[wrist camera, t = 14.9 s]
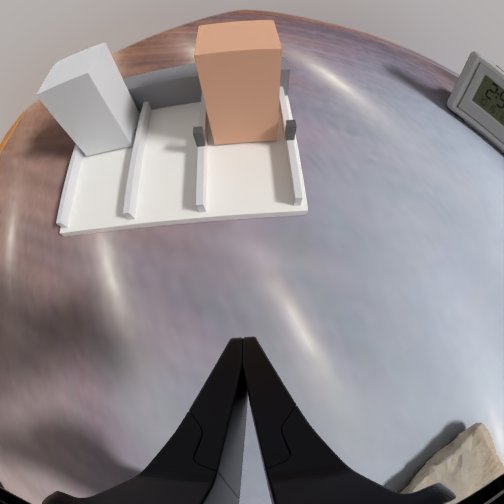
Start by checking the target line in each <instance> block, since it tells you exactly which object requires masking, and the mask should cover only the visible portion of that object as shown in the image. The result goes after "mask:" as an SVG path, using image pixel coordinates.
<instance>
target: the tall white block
mask: <svg viewBox="0 0 504 504" xmlns="http://www.w3.org/2000/svg"><path fill="white" fill-rule="evenodd" d="M37 96H38V98H39V99H40V100H41V102H42V103H43V104H44V105H45V107H46V108H47V109H48V110H49V112H50V113H51V114H52V115H53V117H54V118H55V119H56V120H57V122H58V123H59V124H60V125H61V126H62V128H63V129H64V130H65V131H66V132H67V134H68V135H69V136H70V137H71V138H72V139H73V141H74V142H75V143H76V144H77V145H78V147H79V148H80V149H81V150H82V151H83V152H84V153H85V155H86V156H90V155H94V154H98V153H102V152H107V151H111V150H115V149H120V148H125V147H130V146H132V145H133V140H134V135H135V131H136V126H137V122H138V118H139V114H140V113H139V111H138V109H137V107H136V105H135V103H134V101H133V99H132V97H131V95H130V93H129V91H128V89H127V87H126V85H125V83H124V81H123V79H122V77H121V75H120V73H119V70H118V68H117V66H116V64H115V62H114V60H113V58H112V56H111V54H110V52H109V50H108V47H107V45H106V43H105V42H104V43H101V44H99V45H96V46H93V47H91V48H88V49H86V50H83V51H81V52H78V53H76V54H73V55H71V56H69V57H67V58H64V59H62V60H60V61H58V62H56V63H55V64H54V66H53V68H52V69H51V71H50V72H49V74H48V76H47V77H46V79H45V80H44V82H43V84H42V86H41V88H40V89H39V91H38V93H37Z"/></svg>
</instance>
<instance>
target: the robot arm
mask: <svg viewBox="0 0 504 504" xmlns="http://www.w3.org/2000/svg"><path fill="white" fill-rule="evenodd" d="M248 397H249V402H250V407H251V412H252V416H253V421H254V426H255V431H256V435H257V440H258V444H259V449H260V454H261V458H262V462H263V467H264V471H265V476H266V480H267V484H268V488H269V493H270V497H271V501H272V504H446V503H448V502H450V501H452V500H454V499H455V498H456V496H455V494H454V493H453V492H452V491H451V490H450V489H449V488H447V487H446V486H444V485H443V484H442V483H436V484H433V485H430V486H428V487H426V488H423V489H421V490H419V491H416V492H413V493H406V494H404V493H398V492H395V491H392V490H390V489H388V488H386V487H384V486H382V485H380V484H378V483H376V482H374V481H372V480H370V479H368V478H366V477H364V476H362V475H360V474H359V473H357V472H355V471H354V470H352V469H351V468H350V467H348V466H347V465H346V464H345V463H344V462H343V461H342V460H341V459H340V458H339V457H338V456H337V455H336V454H335V453H334V452H333V451H332V450H331V449H330V447H329V446H328V445H327V444H326V443H325V442H324V441H323V440H322V439H321V438H320V436H319V435H318V434H317V433H316V432H315V430H314V429H313V428H312V427H311V426H310V424H309V423H308V421H307V420H306V419H305V417H304V416H303V414H302V413H301V411H300V409H299V408H298V406H296V403H295V402H294V400H293V399H292V397H291V395H290V394H289V392H288V390H287V389H286V387H285V386H284V384H283V382H282V381H281V379H280V377H279V376H278V374H277V372H276V371H275V369H274V368H273V366H272V364H271V363H270V361H269V359H268V358H267V356H266V354H265V353H264V351H263V349H262V347H261V346H260V344H259V342H258V341H257V339H256V338H255V337H244V338H231V339H230V341H229V342H228V344H227V346H226V348H225V349H224V351H223V353H222V355H221V356H220V358H219V360H218V362H217V363H216V365H215V367H214V369H213V370H212V372H211V374H210V375H209V377H208V379H207V381H206V382H205V384H204V386H203V387H202V389H201V391H200V393H199V394H198V396H197V398H196V399H195V401H194V403H193V404H192V406H191V408H190V409H189V411H190V412H188V413H187V414H186V416H185V418H184V419H183V421H182V422H181V424H180V426H179V427H178V429H177V430H176V432H175V433H174V434H173V436H172V437H171V438H170V439H169V441H168V442H167V443H166V444H165V446H164V447H163V448H162V449H161V451H160V452H159V453H158V454H157V455H156V457H155V458H154V459H153V460H152V461H151V462H150V464H149V465H148V466H147V467H146V468H145V469H144V470H143V471H142V472H141V473H140V474H138V475H137V476H136V477H134V478H132V479H130V480H128V481H126V482H124V483H122V484H120V485H118V486H115V487H113V488H111V489H109V490H106V491H104V492H102V493H99V494H97V495H95V496H91V497H87V498H77V497H73V496H70V495H68V494H65V493H63V492H60V491H56V492H54V493H53V494H51V495H49V496H48V497H47V498H45V500H44V501H43V502H42V504H239V498H240V486H241V475H242V463H243V451H244V439H245V427H246V414H247V402H248ZM0 504H31V503H29V502H27V501H25V500H23V499H22V498H20V497H18V496H16V495H14V494H12V493H10V492H9V491H7V490H5V489H4V488H2V487H0ZM455 504H504V473H503V474H502V475H500V476H499V477H497V478H496V479H494V480H493V481H491V482H490V483H488V484H487V485H485V486H484V487H482V488H481V489H479V490H477V491H476V492H474V493H473V494H471V495H469V496H468V497H466V498H464V499H463V500H461V501H459V502H457V503H455Z"/></svg>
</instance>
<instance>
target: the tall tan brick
mask: <svg viewBox="0 0 504 504" xmlns="http://www.w3.org/2000/svg"><path fill="white" fill-rule="evenodd" d="M281 55H282V48H281V44H280V41H279V37H278V34H277V30H276V27H275V23H274V20H256V21H239V22H227V23H217V24H209V25H201V26H199V29H198V34H197V40H196V46H195V52H194V58H195V63H196V67H197V71H198V76H199V80H200V84H201V89H202V93H203V97H204V101H205V106H206V110H207V114H208V118H209V123H210V127H211V131H212V135H213V139H214V143H215V145H220V144H231V143H244V142H259V141H277V128H278V111H279V94H280V75H281Z"/></svg>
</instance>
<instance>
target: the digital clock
mask: <svg viewBox="0 0 504 504" xmlns="http://www.w3.org/2000/svg"><path fill="white" fill-rule="evenodd" d="M447 106H448V108H449V109H450V110H451V111H453V112H454V113H456V114H457V115H458V116H460V117H461V118H463V119H464V120H463V121H465V122H466V123H467V124H469V125H470V126H471V127H473V128H474V129H475V130H476V131H478V132H479V133H480V134H481V135H483V136H484V137H485V138H486V139H488V140H489V141H490V142H491V143H492V144H493V145H495V146H496V147H497V148H498V149H499V150H500V151H501V152H503V153H504V71H503V70H502V69H500V68H499V67H498V66H497V65H494V64H493V63H492V62H490V61H489V60H488V59H486V58H485V57H484V56H483V55H481V54H480V53H478V52H472V53H471V54H470V56H469V58H468V60H467V62H466V64H465V66H464V69H463V71H462V73H461V75H460V77H459V79H458V81H457V83H456V85H455V87H454V89H453V91H452V93H451V95H450V97H449V99H448V101H447Z"/></svg>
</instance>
